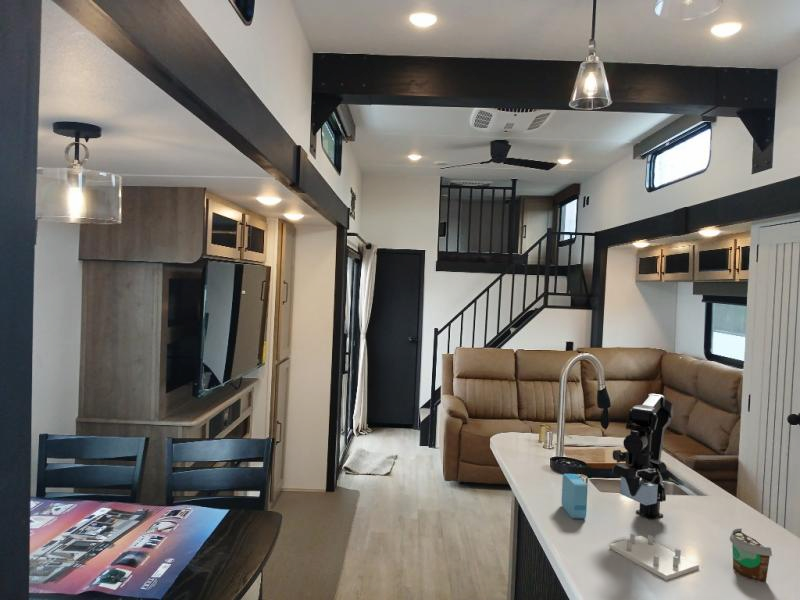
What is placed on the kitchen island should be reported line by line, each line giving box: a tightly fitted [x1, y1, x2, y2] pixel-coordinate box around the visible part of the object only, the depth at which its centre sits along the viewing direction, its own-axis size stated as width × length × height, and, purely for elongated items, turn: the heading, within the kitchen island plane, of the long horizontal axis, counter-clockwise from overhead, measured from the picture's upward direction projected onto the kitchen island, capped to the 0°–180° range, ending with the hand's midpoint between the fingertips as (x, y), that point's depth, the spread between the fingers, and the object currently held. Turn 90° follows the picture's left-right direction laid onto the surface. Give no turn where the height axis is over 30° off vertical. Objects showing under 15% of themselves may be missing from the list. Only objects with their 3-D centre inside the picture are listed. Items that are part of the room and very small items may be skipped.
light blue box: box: [561, 473, 588, 520], centre depth 188 cm, size 12×4×12 cm, turn 2°
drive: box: [619, 476, 658, 505], centre depth 175 cm, size 5×10×6 cm, turn 26°
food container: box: [729, 528, 773, 583], centre depth 152 cm, size 12×6×10 cm, turn 5°
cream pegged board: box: [609, 533, 700, 581], centre depth 158 cm, size 14×19×4 cm
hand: (638, 494), depth 175 cm, fingers closed on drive, 5 cm apart
